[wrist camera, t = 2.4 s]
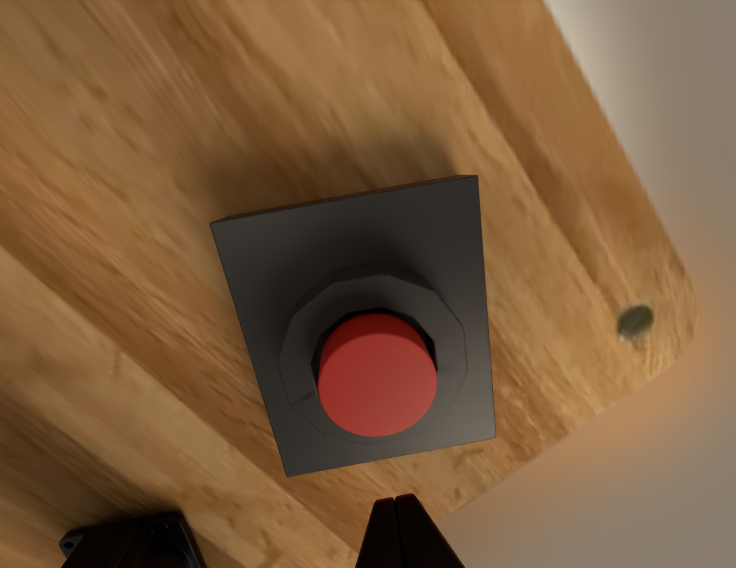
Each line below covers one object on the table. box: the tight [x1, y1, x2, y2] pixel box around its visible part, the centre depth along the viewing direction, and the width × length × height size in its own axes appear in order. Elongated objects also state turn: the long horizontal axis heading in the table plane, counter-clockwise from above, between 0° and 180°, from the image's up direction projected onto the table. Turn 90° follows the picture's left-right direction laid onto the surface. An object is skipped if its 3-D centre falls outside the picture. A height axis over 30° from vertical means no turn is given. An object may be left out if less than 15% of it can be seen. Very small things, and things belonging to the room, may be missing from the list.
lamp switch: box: [210, 175, 496, 477], centre depth 15 cm, size 12×10×4 cm
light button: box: [318, 313, 437, 437], centre depth 13 cm, size 4×4×2 cm
